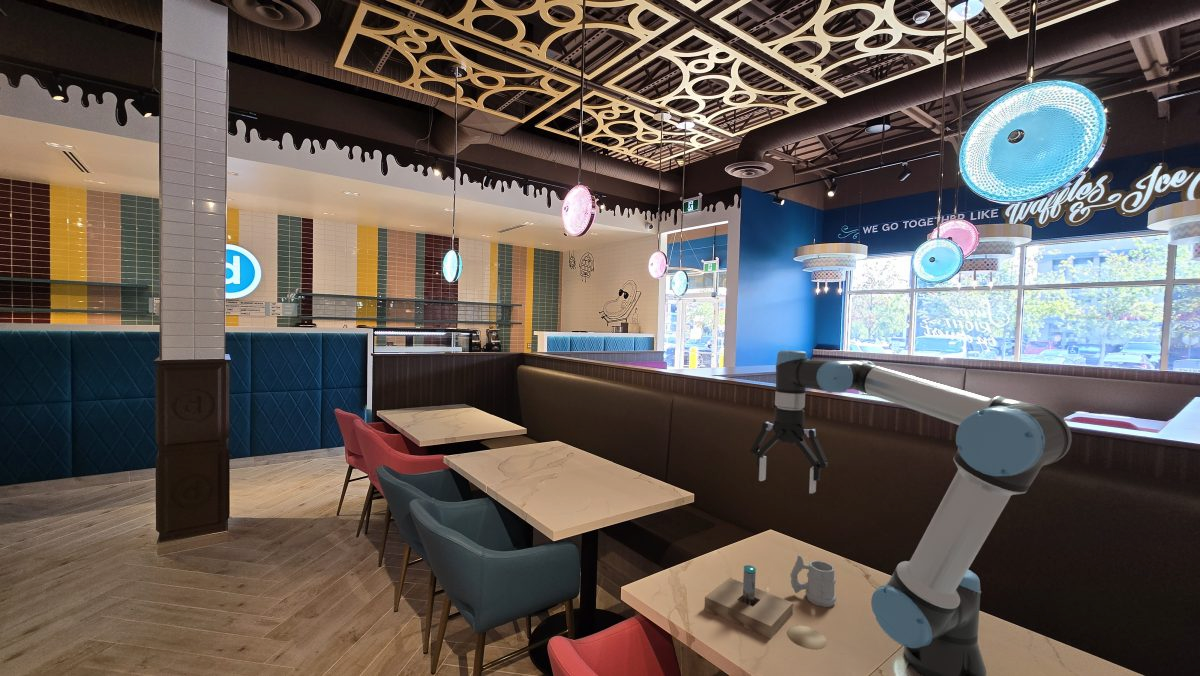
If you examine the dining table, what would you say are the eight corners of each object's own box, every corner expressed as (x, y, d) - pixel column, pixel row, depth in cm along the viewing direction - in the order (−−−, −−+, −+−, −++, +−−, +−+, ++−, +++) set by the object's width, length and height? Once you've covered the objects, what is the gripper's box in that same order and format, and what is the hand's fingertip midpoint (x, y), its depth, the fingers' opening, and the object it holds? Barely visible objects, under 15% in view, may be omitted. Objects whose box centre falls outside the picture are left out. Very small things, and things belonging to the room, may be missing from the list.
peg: (756, 612, 129) (757, 568, 129) (751, 617, 127) (752, 572, 126) (745, 608, 131) (746, 564, 131) (740, 612, 129) (741, 568, 128)
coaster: (831, 638, 119) (831, 636, 119) (819, 656, 112) (819, 654, 112) (794, 622, 125) (794, 621, 125) (780, 638, 118) (780, 636, 118)
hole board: (792, 616, 128) (793, 602, 128) (770, 640, 118) (771, 626, 117) (729, 589, 140) (729, 577, 140) (704, 609, 130) (704, 596, 130)
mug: (838, 611, 131) (839, 567, 130) (790, 602, 134) (792, 559, 134) (833, 596, 138) (835, 554, 138) (788, 588, 142) (790, 547, 141)
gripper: (843, 412, 126) (840, 494, 126) (751, 400, 143) (749, 472, 143) (834, 416, 120) (830, 501, 121) (739, 403, 137) (737, 478, 138)
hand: (786, 486), depth 132 cm, fingers open, 13 cm apart
